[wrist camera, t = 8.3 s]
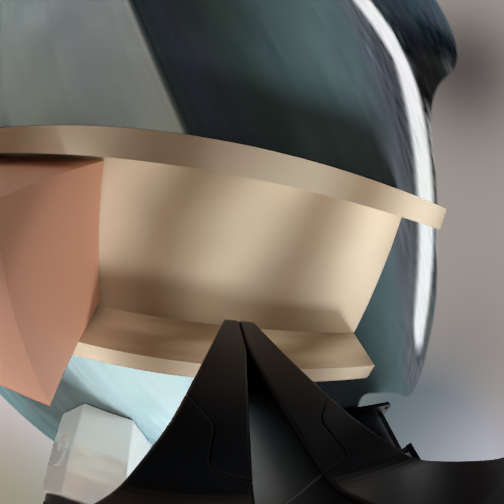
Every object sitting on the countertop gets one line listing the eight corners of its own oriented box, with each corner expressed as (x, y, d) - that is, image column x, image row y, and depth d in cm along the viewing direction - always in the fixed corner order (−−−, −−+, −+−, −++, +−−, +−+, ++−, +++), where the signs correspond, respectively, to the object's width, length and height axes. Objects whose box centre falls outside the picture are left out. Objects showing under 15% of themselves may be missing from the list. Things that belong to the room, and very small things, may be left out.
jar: (95, 393, 17) (67, 526, 6) (167, 438, 20) (167, 552, 9) (53, 415, 18) (27, 511, 7) (114, 452, 21) (105, 542, 10)
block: (103, 160, 10) (-4, 199, 4) (100, 300, 13) (49, 405, 6) (-4, 156, 9) (-101, 189, 2) (4, 276, 11) (-61, 348, 5)
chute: (398, 189, 14) (446, 209, 10) (342, 335, 17) (366, 377, 14) (-2, 127, 9) (-49, 134, 5) (5, 285, 12) (-26, 318, 9)
